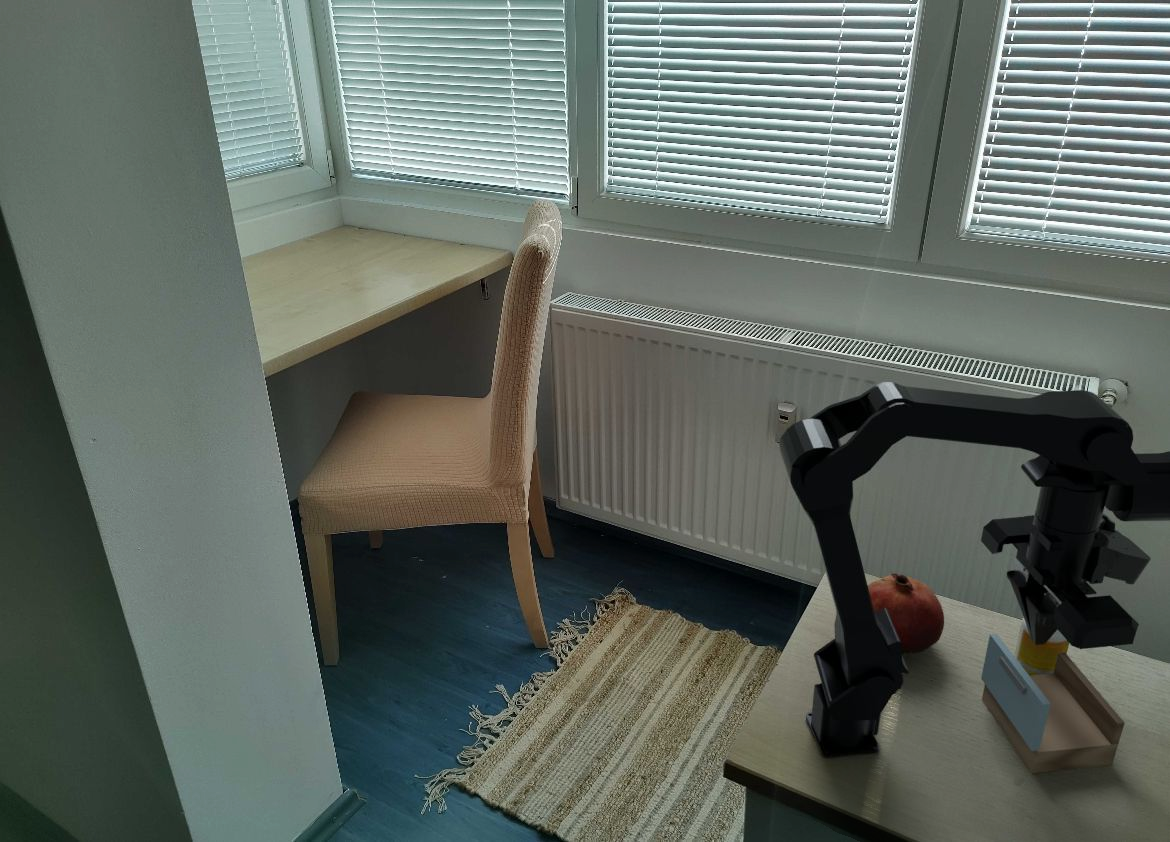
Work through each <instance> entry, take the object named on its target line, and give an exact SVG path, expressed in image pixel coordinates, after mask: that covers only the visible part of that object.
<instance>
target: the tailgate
mask: <svg viewBox="0 0 1170 842" xmlns="http://www.w3.org/2000/svg"><path fill="white" fill-rule="evenodd" d="M1014 655H1015V654H1013V653H1012V651H1010V649H1009V648H1008V646H1007V644H1005V642H1004V641H1003V640H1002V638H1001V637H1000V636H999V634H998V633H992V634H989V637H988V642H987V648H986V652H985V658H984V663H983V668H982V673H981V678H980V679H981V681H982V682H983V683H984V686H985V685H986V686H987V688H988V689H989V690H990V692H991V693H992V695H993V696H994V698H995V699H996V700H997V702H998V703H999V705H1000V706H1001V708H1002V709H1003V710H1004V712H1005V713H1006V715H1007V716H1008V718H1009V719H1010V721H1011V722H1012V723H1013V725H1014V726H1015V728H1016V729H1017V731H1018V732H1019V733H1020V735H1021V736H1022V738H1023V739H1024V741H1025V742H1026V743H1027V745H1028V746H1029V748H1030V749H1031V751H1038V750H1039V749H1040V745H1041V741H1042V737H1043V733H1044V729H1045V725H1046V721H1047V717H1048V713H1049V709H1050V705H1051V703H1050V702H1049V701H1048V700H1047V698H1046V697H1045V696H1044V694H1043V693H1042V692H1041V690H1040V689H1039V688H1038V687H1037V685H1036V684H1035V683H1034V681H1033V680H1032V679H1031V677H1030V676H1029V675H1028V674H1027V672H1026V671H1025V670H1024V668H1023V667H1022V666H1021V664H1020V663H1019V662H1018V661H1017V659H1016V658H1015V657H1014Z"/></svg>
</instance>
